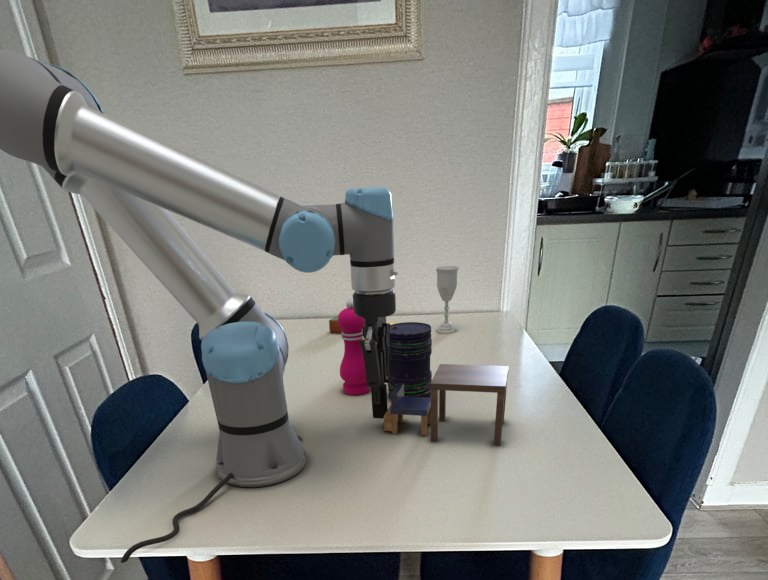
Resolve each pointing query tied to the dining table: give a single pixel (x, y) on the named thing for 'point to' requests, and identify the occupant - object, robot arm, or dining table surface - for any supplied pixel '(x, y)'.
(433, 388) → the little table
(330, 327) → the carton
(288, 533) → the dining table surface
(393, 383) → the dark blue barrel
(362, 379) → the pepper mill
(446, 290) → the chalice
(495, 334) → the dining table surface
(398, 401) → the blue toy chair
